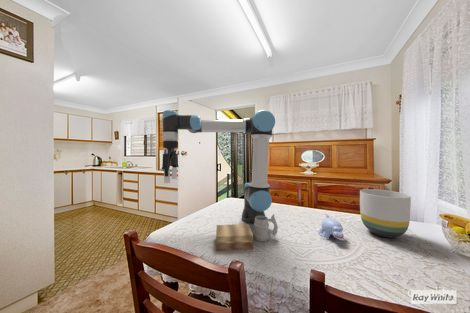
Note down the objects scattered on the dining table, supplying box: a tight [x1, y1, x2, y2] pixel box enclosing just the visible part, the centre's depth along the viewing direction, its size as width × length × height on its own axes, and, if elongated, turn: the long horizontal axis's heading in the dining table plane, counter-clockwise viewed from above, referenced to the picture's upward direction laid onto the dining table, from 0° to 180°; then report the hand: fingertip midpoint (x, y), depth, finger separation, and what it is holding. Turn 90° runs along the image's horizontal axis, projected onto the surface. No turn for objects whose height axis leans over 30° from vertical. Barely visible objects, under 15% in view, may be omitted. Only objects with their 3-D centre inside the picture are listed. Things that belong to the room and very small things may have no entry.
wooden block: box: [215, 223, 254, 252], centre depth 81 cm, size 16×12×6 cm
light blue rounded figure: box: [317, 213, 346, 241], centre depth 85 cm, size 11×15×10 cm
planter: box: [359, 188, 412, 239], centre depth 88 cm, size 20×20×21 cm
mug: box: [252, 213, 279, 242], centre depth 85 cm, size 8×12×12 cm, turn 82°
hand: (171, 180), depth 91 cm, fingers open, 13 cm apart
